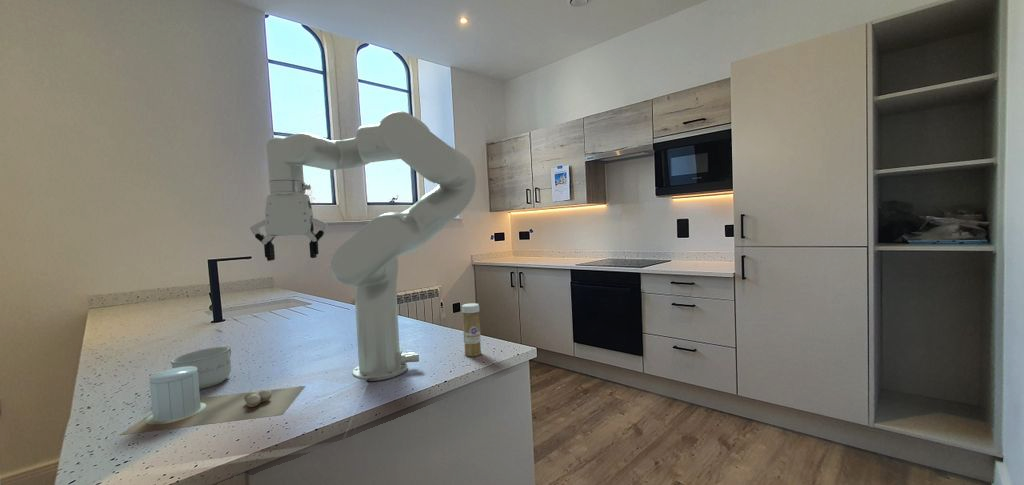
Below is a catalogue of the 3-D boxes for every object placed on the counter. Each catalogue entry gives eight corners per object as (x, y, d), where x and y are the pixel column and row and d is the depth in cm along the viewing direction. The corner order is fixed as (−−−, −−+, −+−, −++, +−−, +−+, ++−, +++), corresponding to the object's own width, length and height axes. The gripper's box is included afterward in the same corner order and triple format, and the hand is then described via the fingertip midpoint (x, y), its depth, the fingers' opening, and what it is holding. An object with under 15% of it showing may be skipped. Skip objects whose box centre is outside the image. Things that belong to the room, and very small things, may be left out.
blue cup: (207, 402, 82) (204, 364, 81) (187, 418, 75) (183, 377, 75) (168, 407, 80) (165, 368, 80) (143, 423, 73) (140, 381, 73)
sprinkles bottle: (469, 358, 104) (467, 306, 104) (461, 354, 108) (458, 304, 108) (484, 354, 107) (482, 304, 107) (476, 350, 111) (473, 302, 110)
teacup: (200, 397, 87) (197, 361, 86) (160, 395, 89) (157, 360, 89) (254, 373, 100) (251, 342, 100) (218, 372, 103) (215, 341, 102)
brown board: (305, 389, 89) (304, 375, 88) (282, 418, 75) (281, 401, 75) (170, 405, 84) (169, 389, 83) (119, 439, 70) (117, 421, 70)
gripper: (328, 190, 105) (333, 255, 105) (254, 192, 101) (259, 260, 102) (321, 186, 97) (326, 257, 98) (241, 189, 94) (247, 262, 94)
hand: (292, 259), depth 100 cm, fingers open, 9 cm apart
